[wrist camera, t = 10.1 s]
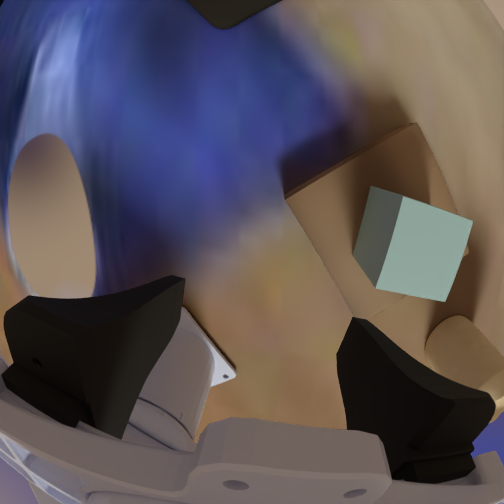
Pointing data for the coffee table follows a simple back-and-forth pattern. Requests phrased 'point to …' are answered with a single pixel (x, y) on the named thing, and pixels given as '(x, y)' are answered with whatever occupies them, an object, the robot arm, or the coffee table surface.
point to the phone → (229, 10)
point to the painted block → (410, 245)
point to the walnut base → (354, 202)
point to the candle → (467, 358)
